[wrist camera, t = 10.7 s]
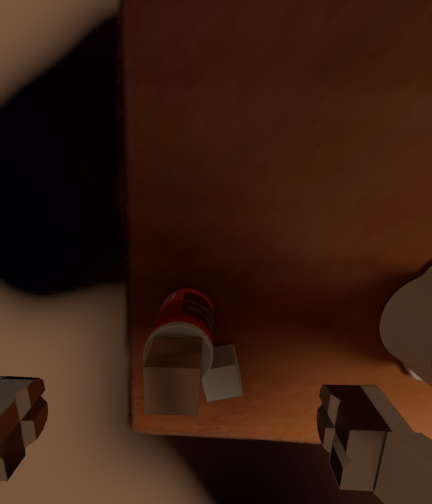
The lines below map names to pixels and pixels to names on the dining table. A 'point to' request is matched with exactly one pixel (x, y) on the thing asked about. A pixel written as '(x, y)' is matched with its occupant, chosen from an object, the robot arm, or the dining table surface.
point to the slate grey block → (223, 375)
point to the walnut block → (173, 376)
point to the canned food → (186, 322)
